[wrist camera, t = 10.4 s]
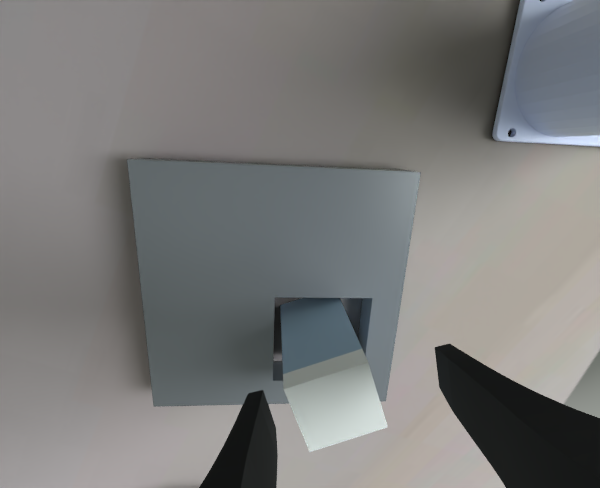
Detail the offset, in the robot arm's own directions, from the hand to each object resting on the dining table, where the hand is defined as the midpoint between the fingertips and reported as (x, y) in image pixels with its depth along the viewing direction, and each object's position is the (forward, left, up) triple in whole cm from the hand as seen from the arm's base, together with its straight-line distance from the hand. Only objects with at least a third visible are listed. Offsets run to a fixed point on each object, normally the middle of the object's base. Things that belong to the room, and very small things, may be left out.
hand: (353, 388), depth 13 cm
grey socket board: (+3, 0, -9) cm, 10 cm away
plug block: (0, +2, -9) cm, 10 cm away
